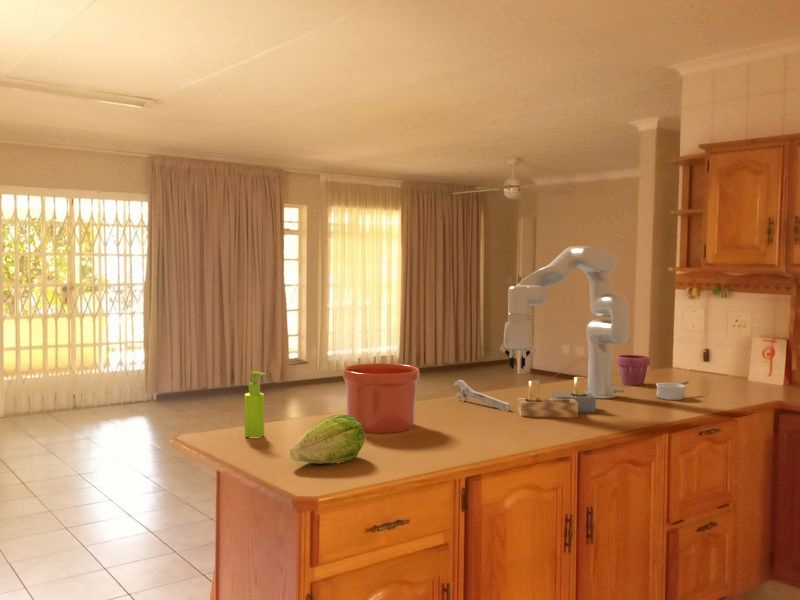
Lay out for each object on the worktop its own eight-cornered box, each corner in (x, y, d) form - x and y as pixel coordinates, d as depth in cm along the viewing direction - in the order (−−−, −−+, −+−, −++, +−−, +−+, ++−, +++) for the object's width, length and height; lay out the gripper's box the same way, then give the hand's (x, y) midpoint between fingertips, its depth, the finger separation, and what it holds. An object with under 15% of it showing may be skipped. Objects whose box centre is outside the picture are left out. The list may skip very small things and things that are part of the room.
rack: (573, 412, 258) (573, 399, 258) (577, 417, 250) (578, 403, 250) (518, 411, 259) (518, 398, 259) (520, 416, 251) (520, 402, 251)
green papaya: (272, 441, 190) (293, 421, 180) (337, 420, 204) (360, 401, 195) (290, 486, 186) (313, 469, 176) (356, 461, 200) (380, 444, 191)
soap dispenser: (257, 440, 214) (257, 374, 213) (240, 437, 217) (240, 372, 216) (270, 436, 219) (270, 371, 218) (254, 433, 222) (254, 369, 221)
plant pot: (611, 381, 329) (612, 354, 328) (640, 381, 331) (641, 354, 330) (624, 387, 315) (625, 358, 314) (654, 386, 316) (655, 358, 316)
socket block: (589, 407, 269) (589, 392, 268) (595, 412, 259) (595, 397, 258) (552, 406, 269) (552, 392, 269) (556, 411, 259) (556, 396, 259)
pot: (332, 421, 240) (333, 365, 239) (400, 415, 250) (401, 361, 249) (357, 438, 217) (358, 376, 217) (431, 431, 227) (432, 371, 226)
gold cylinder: (583, 408, 266) (583, 376, 265) (585, 410, 262) (586, 378, 261) (572, 408, 266) (573, 376, 265) (574, 410, 262) (575, 378, 261)
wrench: (507, 419, 260) (451, 398, 282) (510, 418, 261) (455, 397, 283) (509, 398, 258) (453, 378, 281) (512, 397, 260) (457, 378, 282)
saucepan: (700, 396, 294) (701, 383, 294) (676, 402, 281) (677, 388, 280) (674, 392, 302) (674, 379, 302) (650, 398, 289) (650, 384, 289)
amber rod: (538, 413, 257) (538, 380, 256) (539, 415, 253) (540, 382, 252) (527, 412, 257) (527, 380, 256) (528, 415, 253) (529, 381, 252)
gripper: (538, 318, 267) (537, 367, 268) (495, 318, 268) (494, 366, 269) (541, 320, 259) (540, 370, 260) (496, 319, 260) (495, 369, 261)
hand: (517, 367), depth 264 cm, fingers open, 3 cm apart
